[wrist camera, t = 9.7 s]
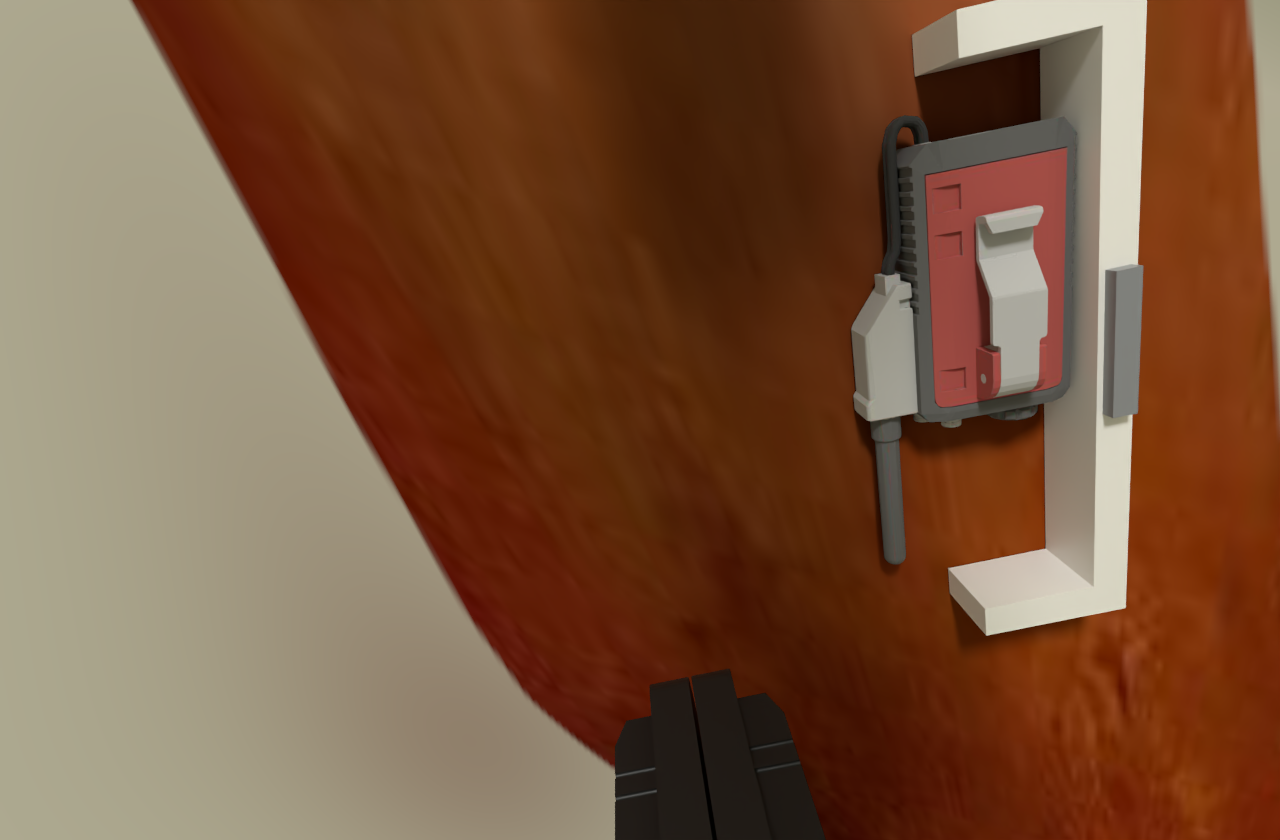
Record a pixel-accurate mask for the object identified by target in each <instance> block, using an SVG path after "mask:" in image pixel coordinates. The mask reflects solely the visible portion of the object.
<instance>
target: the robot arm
mask: <svg viewBox="0 0 1280 840" xmlns="http://www.w3.org/2000/svg"><path fill="white" fill-rule="evenodd" d="M692 684H693V691H694V697H695V702H694V698H693V693H692V689H691V685H690V681H689V678H688V677H686V678H681V679H676V680H671V681H666V682H661V683H656V684H652V685H650V702H651V716H649V717H644V718H639V719H634V720H629V721H626V723H625V725H624V728H623V730H622V732H621V734H620V737H619V739H618V741H617V743H616V746H615V775H616V779H615V797H616V802H615V840H826V839H825V836H824V833H823V830H822V827H821V824H820V821H819V818H818V815H817V812H816V809H815V806H814V803H813V800H812V796H811V793H810V790H809V787H808V784H807V781H806V778H805V775H804V772H803V769H802V766H801V764H800V760H799V757H798V754H797V751H796V748H795V745H794V743H793V739H792V736H791V733H790V730H789V727H788V723H787V720H786V717H785V714H784V712H783V711H782V710H781V709H780V708H779V707H778V706H777V705H776V704H775V703H774V702H773V701H772V700H771V699H770V698H769V696H768V695H767V694H766V693H762V694H757V695H752V696H747V697H742V698H737V696H736V692H735V688H734V684H733V680H732V676H731V672H730V669H725V670H720V671H715V672H710V673H705V674H700V675H695V676H692ZM695 703H696V706H695Z"/></svg>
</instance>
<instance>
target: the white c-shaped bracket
mask: <svg viewBox="0 0 1280 840" xmlns="http://www.w3.org/2000/svg"><path fill="white" fill-rule="evenodd" d="M1146 15H1147V0H997V1H992V2H988V3H984V4H979V5H975V6H971V7H966V8H962V9H958V10H955V11H953V12H952V13H950V14H948V15H946V16H945V17H943V18H941V19H939V20H938V21H936V22H934V23H932V24H931V25H929V26H927V27H925V28H923V29H922V30H920V31H918V32H916V33H915V34H913V35H912V43H913V58H914V73H915V77H917V76H921V75H925V74H930V73H934V72H938V71H943V70H947V69H952V68H956V67H960V66H965V65H969V64H973V63H978V62H982V61H987V60H991V59H995V58H1000V57H1004V56H1008V55H1013V54H1017V53H1022V52H1026V51H1030V50H1035V49H1039V48H1040V102H1041V120H1046V119H1052V118H1057V117H1062V116H1064V117H1065V118H1066V119H1067V121H1068V122H1069V123H1070V124H1071V126H1072V127H1073V128H1074V129H1075V131H1076V132H1077V134H1076V135H1075V145H1076V150H1075V155H1074V159H1075V160H1076V164H1075V165H1074V174H1075V175H1076V179H1075V180H1074V189H1075V194H1074V195H1073V203H1074V204H1075V208H1074V209H1073V218H1074V223H1073V232H1074V236H1073V237H1072V245H1073V246H1074V250H1073V251H1072V259H1073V264H1072V268H1071V273H1073V277H1072V278H1071V286H1073V296H1072V333H1071V371H1070V387H1069V389H1068V390H1067V392H1066V393H1065V394H1064V396H1063V397H1061V398H1059V399H1057V400H1055V401H1053V402H1048V403H1044V450H1045V537H1046V549H1041V550H1036V551H1031V552H1027V553H1022V554H1017V555H1012V556H1007V557H1002V558H997V559H992V560H987V561H982V562H977V563H972V564H967V565H963V566H958V567H953V568H948V575H949V589H950V594H951V595H952V596H953V597H954V599H955V600H956V601H957V602H958V603H959V604H960V606H961V607H962V608H963V609H964V610H965V611H966V613H967V614H968V615H969V616H970V617H971V618H972V620H973V621H974V622H975V623H976V624H977V625H978V627H979V628H980V629H981V630H982V631H983V632H984V634H985V635H986V636H988V635H993V634H998V633H1003V632H1008V631H1013V630H1018V629H1023V628H1028V627H1033V626H1038V625H1043V624H1048V623H1053V622H1058V621H1063V620H1068V619H1073V618H1078V617H1083V616H1088V615H1093V614H1098V613H1103V612H1108V611H1113V610H1118V609H1123V608H1126V583H1127V554H1128V526H1129V497H1130V469H1131V441H1132V414H1136V413H1138V391H1139V365H1140V339H1141V312H1142V286H1143V266H1142V265H1138V242H1139V214H1140V185H1141V157H1142V128H1143V100H1144V72H1145V43H1146Z"/></svg>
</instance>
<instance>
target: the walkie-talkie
mask: <svg viewBox="0 0 1280 840" xmlns="http://www.w3.org/2000/svg"><path fill="white" fill-rule="evenodd" d="M902 127H908V128H910V129H911V131H912V134H913V137H914V145H912V146H910V147H905V148H900V149H898V150H897V151H896V141H897V135H898V133H899V131H900V129H901V128H902ZM1076 134H1077V132H1076V131H1075V129H1074V128H1073V127H1072V126H1071V124H1070V123H1069V122H1068V121H1067V119H1066V118H1065V117H1064V116H1062V117H1057V118H1052V119H1046V120H1041V121H1036V122H1031V123H1026V124H1020V125H1015V126H1010V127H1005V128H1000V129H995V130H990V131H985V132H980V133H975V134H970V135H965V136H960V137H955V138H950V139H945V140H940V141H935V142H929V139H928V130H927V128H926V126H925V123H924V122H923V121H922V120H921V119H920V118H919V117H917V116H905V115H904V116H902V117H899V118H897V119H895V120H893V121H892V122H891V123H890V124H889V125H888V127H887V128H886V130H885V134H884V139H883V143H882V154H883V170H884V186H885V202H886V218H887V234H888V244H887V253H886V255H885V257H884V260H883V262H882V269H881V273H879V274H874V275H875V288H874V289H873V291H872V293H871V294H870V296H869V298H868V299H867V301H866V303H865V304H864V306H863V308H862V310H861V311H860V313H859V315H858V316H857V318H856V320H855V321H854V323H853V325H852V328H851V333H852V345H853V357H854V370H855V382H856V392H855V393H854V395H853V397H854V407H855V411H856V412H858V413H859V414H860V415H861V416H862V417H863V418H864V419H866V420H867V421H870V426H871V437H872V439H874V440H875V451H876V463H877V476H878V488H879V501H880V512H881V523H882V536H883V548H884V558H885V559H886V561H887V562H889V563H891V564H900V563H902V562H903V561H904V560H905V557H906V549H905V533H904V517H903V500H902V484H901V468H900V452H899V438H900V437H901V420H900V416H904V415H909V414H913V416H914V419H913V420H914V421H916V422H941V425H942V426H944V427H958V426H960V425H961V419H964V418H969V417H974V416H980V415H985V414H987V415H989V416H990V417H992V418H995V419H999V420H1021V419H1026V418H1029V417H1031V416H1033V415H1034V414H1035V413H1037V411H1038V404H1043V403H1048V402H1053V401H1055V400H1057V399H1059V398H1061V397H1063V396H1064V394H1065V393H1066V392H1067V390H1068V389H1069V387H1070V371H1071V333H1072V296H1073V286H1071V278H1072V277H1073V273H1071V268H1072V264H1073V259H1072V251H1073V250H1074V246H1073V245H1072V237H1073V236H1074V232H1073V223H1074V218H1073V209H1074V208H1075V204H1074V203H1073V195H1074V194H1075V189H1074V180H1075V179H1076V175H1075V174H1074V165H1075V164H1076V160H1075V159H1074V155H1075V150H1076V145H1075V135H1076Z"/></svg>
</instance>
